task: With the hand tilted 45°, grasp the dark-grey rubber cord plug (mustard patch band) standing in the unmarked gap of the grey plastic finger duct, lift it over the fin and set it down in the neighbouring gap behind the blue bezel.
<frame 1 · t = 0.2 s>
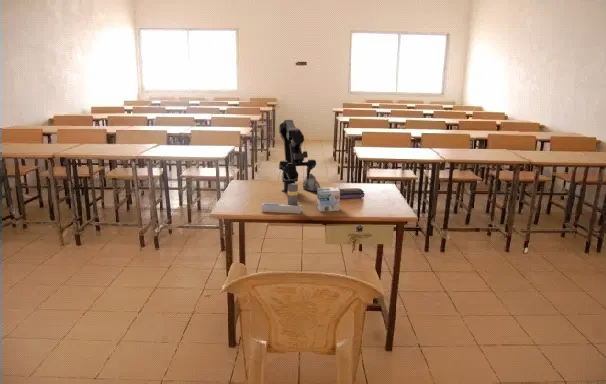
hand: (299, 180, 233), 14 cm above the table, tool tilted 35°, fingers open, 9 cm apart
duct: (283, 208, 233), on the table
light bulb box: (328, 209, 233), on the table
mineral rock: (311, 191, 266), on the table
cord plug: (292, 209, 233), on the table
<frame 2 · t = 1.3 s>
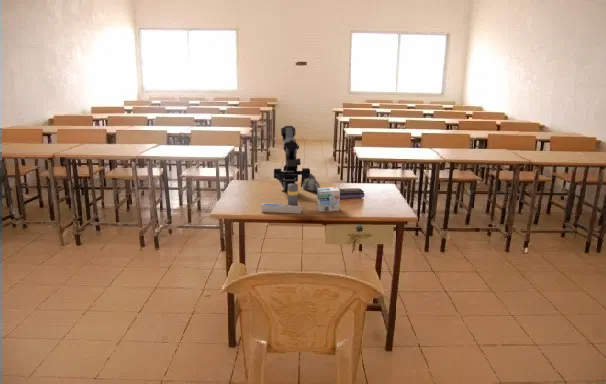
hand: (292, 187, 233), 11 cm above the table, tool tilted 45°, fingers open, 9 cm apart
nothing on the table moved.
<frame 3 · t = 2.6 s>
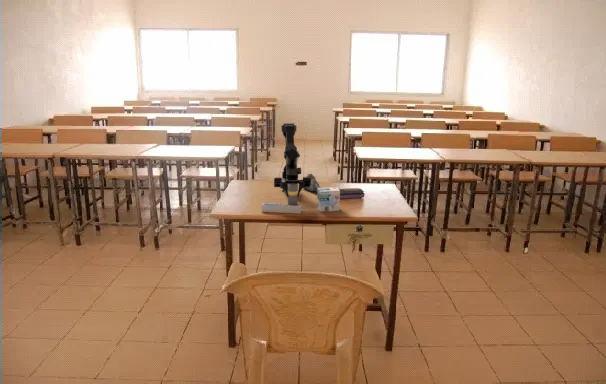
hand: (293, 196, 229), 7 cm above the table, tool tilted 45°, fingers closed on cord plug, 5 cm apart
cord plug: (292, 209, 233), on the table, touching gripper
everything else where it was.
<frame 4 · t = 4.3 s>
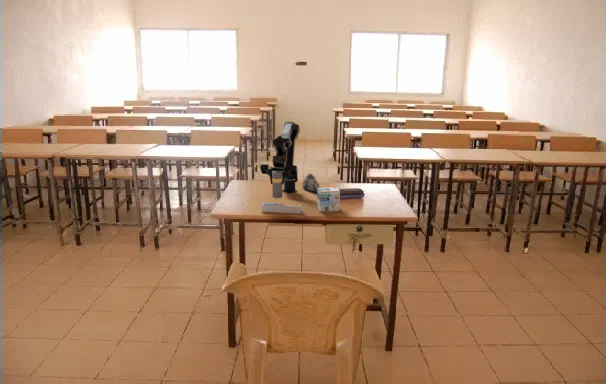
hand: (276, 184, 228), 13 cm above the table, tool tilted 45°, fingers closed on cord plug, 5 cm apart
cord plug: (277, 196, 232), point 6 cm above the table, touching gripper
everything else where it was.
when the fingers open (8 cm above the table, at t = 5.9 s): cord plug drops 1 cm, on the table.
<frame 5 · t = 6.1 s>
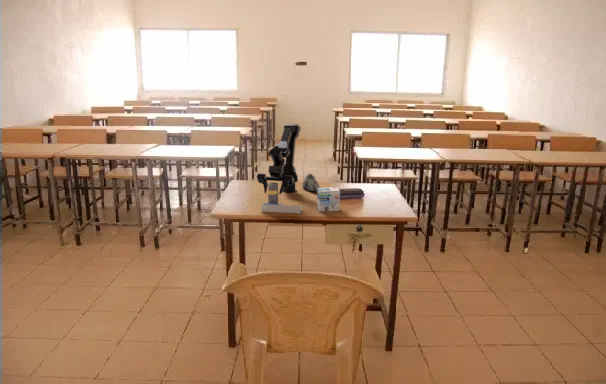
hand: (272, 193, 230), 8 cm above the table, tool tilted 45°, fingers open, 7 cm apart
cord plug: (273, 208, 234), on the table
everything else where it was.
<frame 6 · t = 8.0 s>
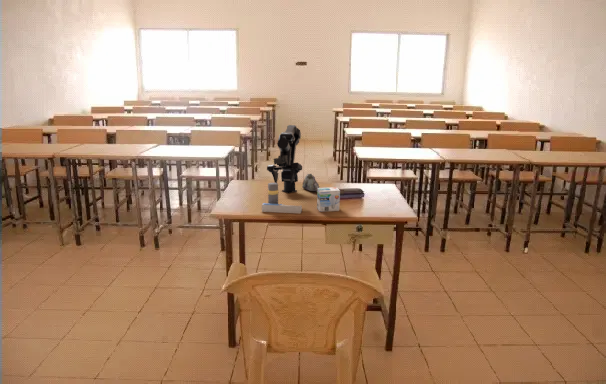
hand: (283, 183, 241), 11 cm above the table, tool tilted 30°, fingers open, 9 cm apart
nothing on the table moved.
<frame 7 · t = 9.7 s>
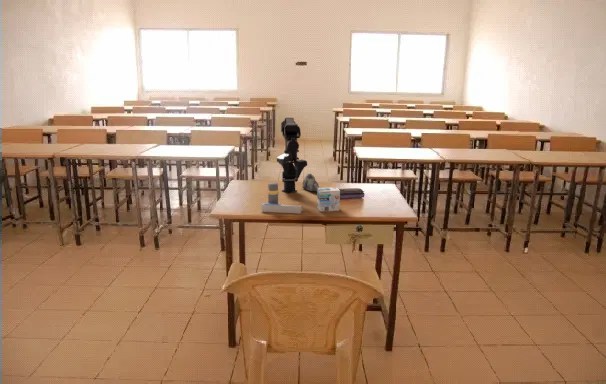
hand: (291, 176, 244), 13 cm above the table, tool pointing down, fingers open, 9 cm apart
nothing on the table moved.
at the end: cord plug 0.0 cm from the target spot, on the table; cord plug tilted 0°; the gripper is holding nothing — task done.
